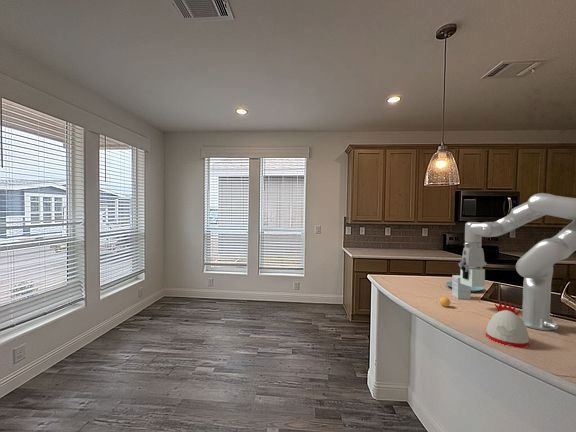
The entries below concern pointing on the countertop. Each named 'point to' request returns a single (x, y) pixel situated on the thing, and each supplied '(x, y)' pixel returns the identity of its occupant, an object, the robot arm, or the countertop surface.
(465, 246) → the robot arm
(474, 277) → the mint green block
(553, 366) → the countertop surface
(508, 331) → the kitchen timer
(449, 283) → the plate
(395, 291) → the countertop surface
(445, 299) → the ball
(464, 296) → the supplement box
